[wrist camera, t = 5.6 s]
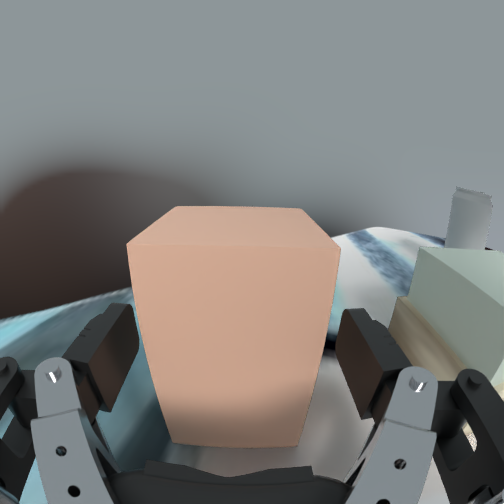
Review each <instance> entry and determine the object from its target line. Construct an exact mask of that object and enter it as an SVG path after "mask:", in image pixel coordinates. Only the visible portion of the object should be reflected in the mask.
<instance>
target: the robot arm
mask: <svg viewBox="0 0 504 504" xmlns="http://www.w3.org/2000/svg"><path fill="white" fill-rule="evenodd" d="M138 350H139V335H138V331H137V326H136V322H135V317H134V312H133V308H132V306H131V305H130V304H122V303H111V304H110V305H109V307H108V308H107V309H106V310H105V312H104V313H103V314H99V315H98V316H96V317H95V318H93V319H91V320H90V321H89V323H88V324H87V325H86V326H85V328H84V330H82V331H81V333H80V334H79V336H77V338H76V339H75V340H74V342H73V343H72V344H71V346H70V347H69V348H68V349H67V351H66V352H65V353H64V355H63V356H62V358H58V357H56V358H50V359H47V360H45V361H43V362H42V363H41V364H39V365H38V367H37V368H36V370H21V369H20V367H19V365H18V363H17V361H16V360H15V359H14V358H12V357H3V358H0V420H1V418H2V416H3V415H4V413H5V411H6V410H7V408H9V409H10V411H11V412H12V413H13V415H14V417H13V419H12V421H11V423H10V425H9V426H8V428H7V430H6V432H5V434H4V436H3V438H2V440H1V438H0V504H19V501H20V498H21V495H22V492H23V489H24V486H25V483H26V480H27V478H28V475H29V472H30V470H31V467H32V464H33V462H34V459H35V457H36V460H37V464H38V469H39V473H40V477H41V481H42V484H43V488H44V491H45V495H46V498H47V501H48V504H418V501H419V498H420V495H421V492H422V489H423V486H424V483H425V480H426V477H427V473H428V470H429V466H430V463H431V459H432V456H433V458H434V461H435V463H436V466H437V468H438V471H439V474H440V476H441V479H442V482H443V485H444V487H445V490H446V493H447V496H448V499H449V502H450V504H504V401H503V400H502V398H501V397H500V395H499V394H498V393H497V391H496V390H495V388H494V387H493V386H492V384H491V383H490V382H489V380H488V379H487V377H486V376H485V375H484V374H483V373H481V372H479V371H478V370H475V369H464V370H462V371H460V372H459V374H458V376H457V378H456V379H455V381H437V379H436V377H435V376H434V375H433V374H432V373H431V372H430V371H428V370H427V369H425V368H422V367H416V366H413V365H412V364H411V362H410V361H409V359H408V358H407V357H406V355H405V354H404V352H403V351H402V349H401V348H400V346H399V345H398V344H396V341H395V339H394V338H393V337H392V335H391V334H390V332H389V331H388V329H387V328H386V327H385V326H384V325H382V324H381V323H379V322H378V321H376V320H372V319H371V317H370V316H369V314H368V313H367V312H366V310H365V309H364V308H359V309H345V310H344V311H343V313H342V318H341V322H340V327H339V331H338V336H337V340H336V356H337V359H338V361H339V364H340V366H341V369H342V371H343V374H344V376H345V379H346V381H347V384H348V386H349V389H350V392H351V394H352V397H353V399H354V402H355V404H356V407H357V410H358V412H359V415H360V418H361V420H363V419H368V418H373V419H374V422H375V423H374V425H373V426H372V428H371V431H370V433H369V435H368V437H367V439H366V441H365V443H364V445H363V447H362V450H361V452H360V454H359V455H358V457H357V459H356V461H355V463H354V465H353V467H352V468H351V470H350V472H349V473H348V475H347V476H346V478H345V479H344V481H343V482H341V481H339V480H336V479H332V478H329V477H324V476H319V475H313V472H312V467H311V466H303V467H292V468H278V469H268V470H264V471H260V472H255V473H251V474H246V475H241V476H235V477H222V476H218V475H214V474H211V473H207V472H204V471H201V470H197V469H194V468H191V467H188V466H185V465H177V464H170V463H164V462H158V461H153V460H147V459H146V463H145V467H144V469H134V470H128V471H123V472H122V470H121V469H120V467H119V466H118V464H117V462H116V461H115V459H114V457H113V455H112V452H111V450H110V448H109V445H108V443H107V441H106V438H105V436H104V433H103V431H102V428H101V426H100V423H99V420H98V418H97V416H96V415H97V413H98V411H99V410H102V411H106V412H111V410H112V408H113V405H114V403H115V401H116V399H117V396H118V394H119V392H120V390H121V387H122V385H123V383H124V381H125V378H126V376H127V374H128V372H129V370H130V368H131V366H132V363H133V361H134V359H135V357H136V355H137V353H138ZM466 422H467V423H468V424H469V426H470V428H471V430H472V432H473V434H474V435H475V437H476V440H477V447H476V450H475V452H474V451H473V449H472V447H471V445H470V443H469V441H468V439H467V437H466V435H465V433H464V431H463V429H462V427H463V426H464V425H465V423H466Z"/></svg>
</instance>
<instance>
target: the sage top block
mask: <svg viewBox="0 0 504 504" xmlns="http://www.w3.org/2000/svg"><path fill="white" fill-rule="evenodd" d="M407 300H408V301H409V302H410V303H411V304H412V305H413V306H414V307H415V308H416V309H417V310H418V312H419V313H420V314H421V315H422V316H423V317H424V318H425V319H426V320H427V321H428V323H429V324H430V325H431V326H432V327H433V328H434V329H435V330H436V332H437V333H438V334H439V335H440V336H441V337H442V338H443V340H444V341H445V342H446V343H447V344H448V346H449V347H450V348H451V349H452V350H453V351H454V353H455V354H456V355H457V356H458V358H459V359H460V360H461V361H462V362H463V364H464V365H465V366H466V367H467V369H475V370H478V371H479V372H481V373H483V374H484V375H485V376H486V377H487V379H488V380H489V382H490V383H491V384H492V386H493V387H495V386H497V385H499V384H501V383H503V382H504V254H503V253H502V252H500V251H493V250H475V249H457V248H437V247H419V251H418V256H417V260H416V265H415V269H414V274H413V278H412V282H411V286H410V290H409V293H408V297H407Z"/></svg>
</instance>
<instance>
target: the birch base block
mask: <svg viewBox="0 0 504 504" xmlns="http://www.w3.org/2000/svg"><path fill="white" fill-rule="evenodd" d="M407 297H408V296H400V297H397V301H396V305H395V308H394V312H393V315H392V318H391V322H390V325H389V328H388V331H389V332H390V334H391V335H392V337H393V338H394V339H395V341H396V344H398V345H399V346H400V348H401V349H402V351H403V352H404V354H405V355H406V357H407V358H408V359H409V361H410V362H411V364H412V365H413V366H416V367H422V368H425V369H427V370H428V371H430V372H431V373H432V374H433V375H434V376H435V377H436V379H437V381H455V379H456V378H457V376H458V374H459V372H460V371H462V370H464V369H467V367H466V366H465V365H464V364H463V362H462V361H461V360H460V359H459V358H458V356H457V355H456V354H455V353H454V351H453V350H452V349H451V348H450V347H449V346H448V344H447V343H446V342H445V341H444V340H443V338H442V337H441V336H440V335H439V334H438V333H437V332H436V330H435V329H434V328H433V327H432V326H431V325H430V324H429V323H428V321H427V320H426V319H425V318H424V317H423V316H422V315H421V314H420V313H419V312H418V310H417V309H416V308H415V307H414V306H413V305H412V304H411V303H410V302H409V301H408V300H407ZM494 388H495V390H496V391H497V393H498V394H499V395H500V397H501V398H502V400H503V401H504V382H503V383H501V384H499V385H497V386H495V387H494ZM462 429H463V431H464V433H465V435H466V436H467V435H469V434H471V433H473V432H472V430H471V428H470V426H469V424H468V423H467V422H466V423H465V425H464V426H463V427H462Z"/></svg>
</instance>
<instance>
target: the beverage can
mask: <svg viewBox="0 0 504 504" xmlns="http://www.w3.org/2000/svg"><path fill="white" fill-rule="evenodd" d="M456 189H457V190H456V192H455V193H454V194H453V198H452V206H451V212H450V219H449V225H448V231H447V236H446V241H445V246H444V248H457V249H475V250H485V245H486V241H487V236H488V231H489V226H490V220H491V214H492V207H493V205H492V202H491V196H489V195H486V194H483V193H482V192H476V191H472V190H467V189H464V188H459V187H456Z"/></svg>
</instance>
